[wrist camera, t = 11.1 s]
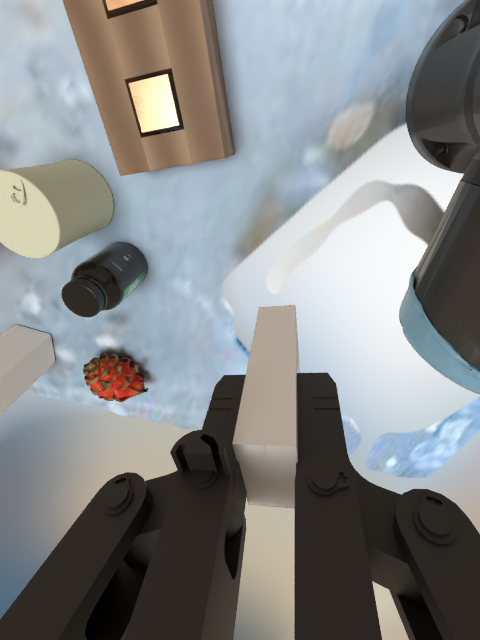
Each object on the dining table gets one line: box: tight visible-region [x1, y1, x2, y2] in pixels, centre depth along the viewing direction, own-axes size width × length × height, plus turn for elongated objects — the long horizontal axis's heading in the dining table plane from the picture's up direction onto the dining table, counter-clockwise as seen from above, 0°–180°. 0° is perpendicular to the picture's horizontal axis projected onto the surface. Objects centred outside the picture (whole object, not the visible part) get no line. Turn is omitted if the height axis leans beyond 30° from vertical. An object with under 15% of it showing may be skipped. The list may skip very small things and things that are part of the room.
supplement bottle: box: [61, 243, 147, 317], centre depth 41 cm, size 7×7×12 cm
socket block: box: [63, 0, 235, 176], centre depth 29 cm, size 12×20×6 cm, turn 9°
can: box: [0, 160, 114, 258], centre depth 36 cm, size 9×9×12 cm
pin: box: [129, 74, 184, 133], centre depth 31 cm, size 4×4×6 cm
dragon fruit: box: [83, 353, 148, 402], centre depth 55 cm, size 8×8×12 cm
